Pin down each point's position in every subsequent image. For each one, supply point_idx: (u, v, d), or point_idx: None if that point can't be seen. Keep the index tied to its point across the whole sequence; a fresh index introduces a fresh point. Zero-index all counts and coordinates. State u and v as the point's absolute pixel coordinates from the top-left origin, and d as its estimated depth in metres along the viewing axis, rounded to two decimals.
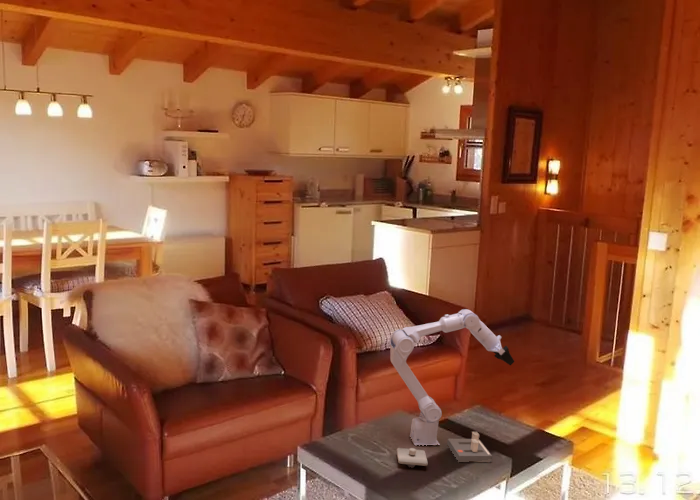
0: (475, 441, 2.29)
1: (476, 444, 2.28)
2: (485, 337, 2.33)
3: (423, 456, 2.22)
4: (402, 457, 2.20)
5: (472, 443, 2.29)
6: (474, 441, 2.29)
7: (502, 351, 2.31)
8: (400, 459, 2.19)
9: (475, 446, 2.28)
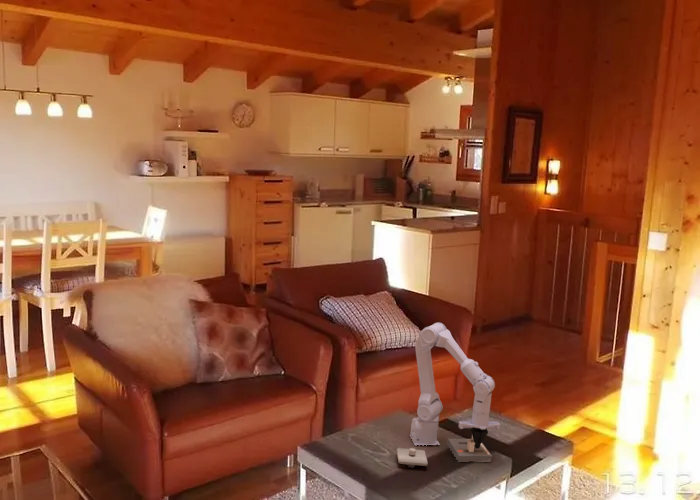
0: (471, 440, 2.29)
1: (472, 444, 2.28)
2: (477, 411, 2.25)
3: (423, 456, 2.22)
4: (402, 457, 2.20)
5: (468, 443, 2.29)
6: (470, 441, 2.29)
7: (460, 426, 2.27)
8: (400, 459, 2.19)
9: (471, 446, 2.28)
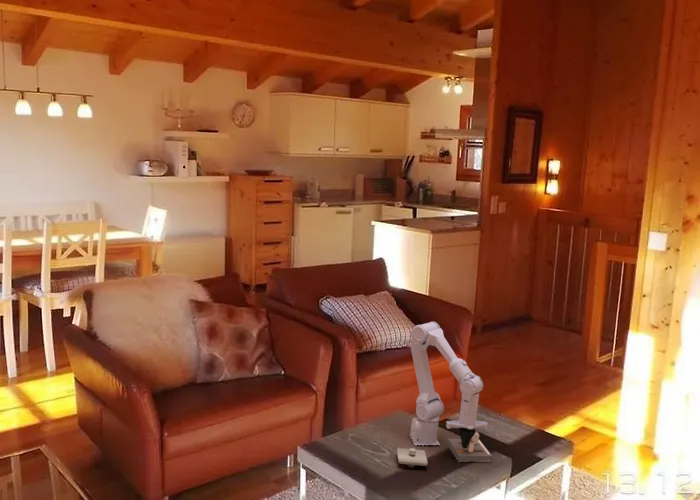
0: (471, 440, 2.29)
1: (472, 444, 2.28)
2: (463, 410, 2.25)
3: (423, 456, 2.22)
4: (402, 457, 2.20)
5: None
6: (470, 441, 2.29)
7: (447, 426, 2.26)
8: (400, 459, 2.19)
9: (471, 446, 2.28)
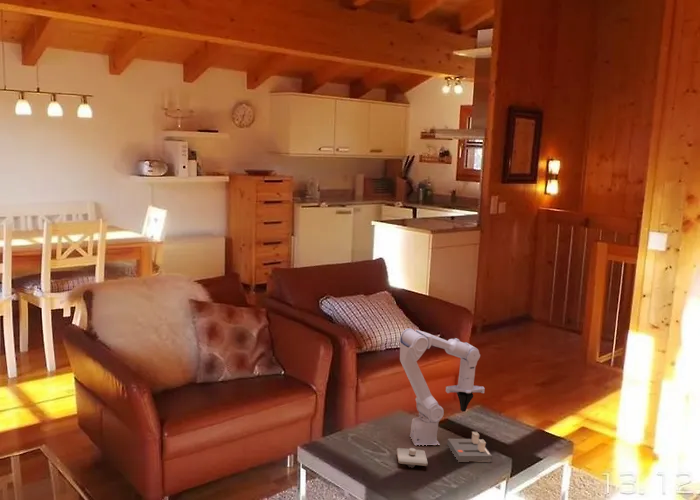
0: (482, 441, 2.30)
1: (483, 444, 2.29)
2: (470, 377, 2.40)
3: (423, 456, 2.22)
4: (402, 457, 2.20)
5: (479, 443, 2.30)
6: (481, 441, 2.29)
7: (447, 391, 2.42)
8: (400, 459, 2.19)
9: (482, 446, 2.29)
